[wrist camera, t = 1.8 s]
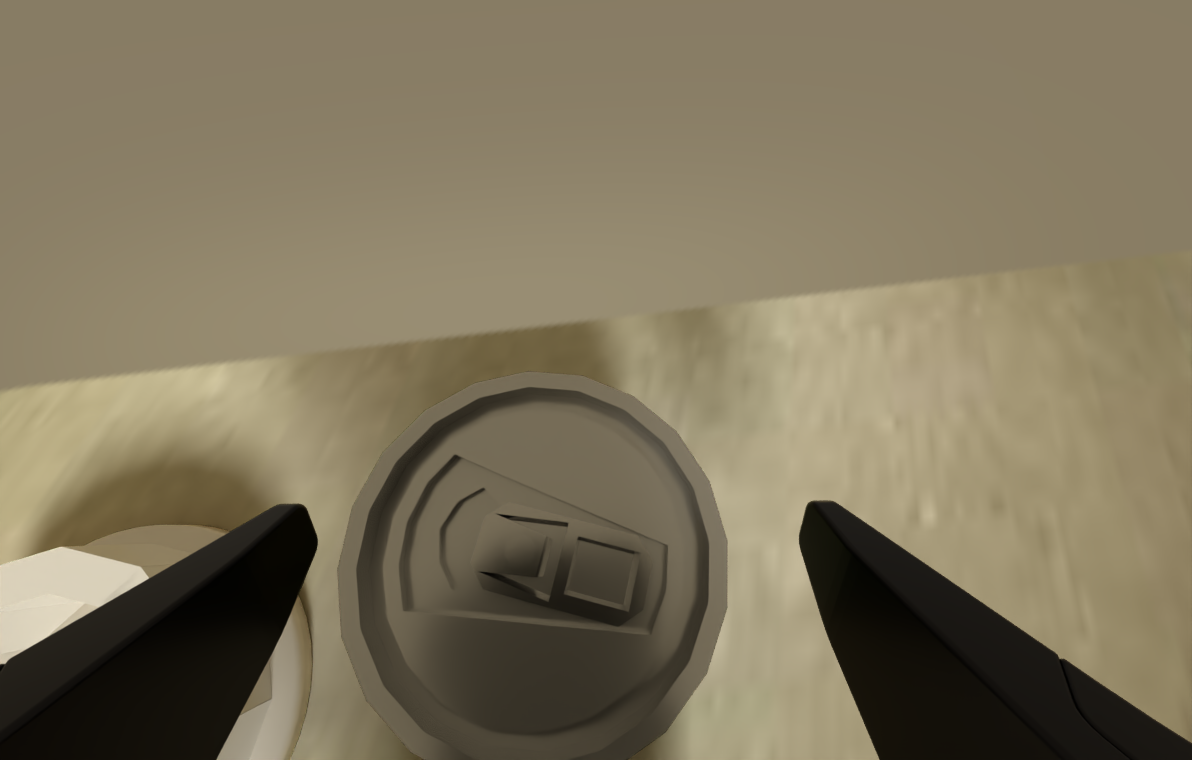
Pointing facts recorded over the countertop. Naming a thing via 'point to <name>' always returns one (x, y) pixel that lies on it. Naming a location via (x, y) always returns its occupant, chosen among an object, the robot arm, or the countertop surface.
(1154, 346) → the countertop surface
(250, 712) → the can holder
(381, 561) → the beer can
